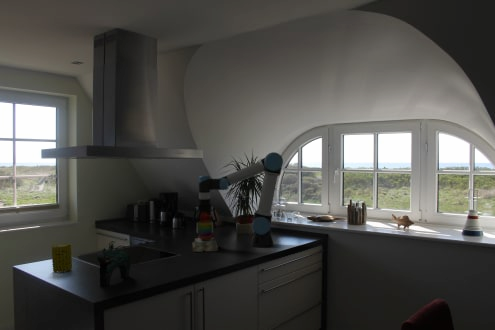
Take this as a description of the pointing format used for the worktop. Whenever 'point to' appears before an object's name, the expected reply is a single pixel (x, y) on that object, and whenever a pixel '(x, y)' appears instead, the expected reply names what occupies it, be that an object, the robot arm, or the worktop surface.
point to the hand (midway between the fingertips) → (204, 232)
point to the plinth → (206, 248)
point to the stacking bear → (205, 226)
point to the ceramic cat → (113, 263)
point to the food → (61, 258)
